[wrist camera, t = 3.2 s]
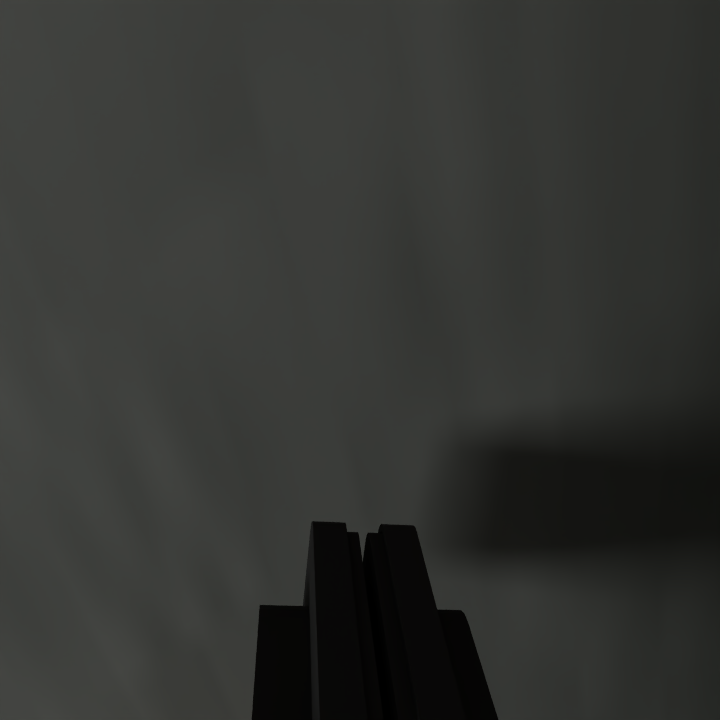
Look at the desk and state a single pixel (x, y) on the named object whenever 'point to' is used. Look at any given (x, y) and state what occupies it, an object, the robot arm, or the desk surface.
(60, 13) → the desk surface
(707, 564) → the desk surface
